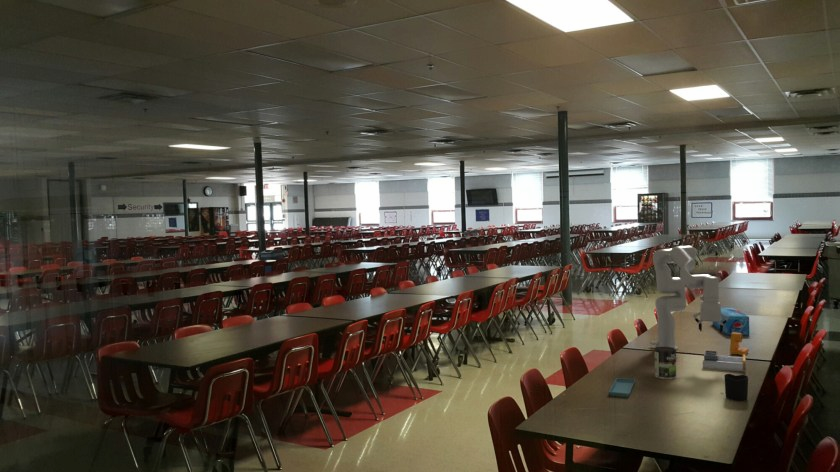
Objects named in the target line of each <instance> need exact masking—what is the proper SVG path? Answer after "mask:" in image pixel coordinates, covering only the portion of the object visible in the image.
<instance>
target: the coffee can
mask: <svg viewBox="0 0 840 472" xmlns="http://www.w3.org/2000/svg"><path fill="white" fill-rule="evenodd" d="M654 376H655V377H656V378H658V379H663V380H674V379H676V378H677V350H676V349H675V348H671V347H656V348H655V347H654Z"/></svg>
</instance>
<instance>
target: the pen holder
mask: <svg viewBox="0 0 840 472" xmlns="http://www.w3.org/2000/svg"><path fill="white" fill-rule="evenodd" d="M724 392H725V394H724V395H725V397H726V399H728V400H729V401H732V402H734V401H735V402H745V401H747V400H748V397H749V395H748V393H749V376H748V375H746V374H738V375H735V374H732V373H725V374H724Z"/></svg>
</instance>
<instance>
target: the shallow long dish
mask: <svg viewBox="0 0 840 472" xmlns="http://www.w3.org/2000/svg"><path fill="white" fill-rule="evenodd" d="M635 381H636V379H632V378H621V377H620V378H618V377H616V378H615V380H614V381H613V383H612V385H611V387H610V389H609V390H608V393H609V395H610V396H611V397H618V398H619V397H621V398H628V397H629V396H630V393H631V391H632V389H633V387H634V384H635Z"/></svg>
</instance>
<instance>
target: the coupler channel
mask: <svg viewBox="0 0 840 472" xmlns="http://www.w3.org/2000/svg"><path fill="white" fill-rule="evenodd" d="M717 358H718V361H709V360H705V359H704V358H703V359H702V369H707V370H708V369H709V370H718V371H719V370H720V371H731V372H733V371H734V372H744V373H746V368H747V367H746V355H744V354H743V355H742V356H733V355H732V356H729V355H719V354H717Z"/></svg>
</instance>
